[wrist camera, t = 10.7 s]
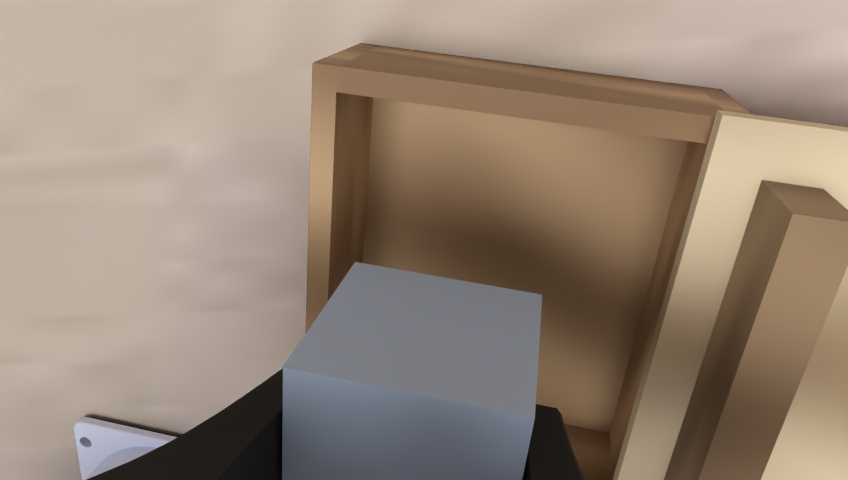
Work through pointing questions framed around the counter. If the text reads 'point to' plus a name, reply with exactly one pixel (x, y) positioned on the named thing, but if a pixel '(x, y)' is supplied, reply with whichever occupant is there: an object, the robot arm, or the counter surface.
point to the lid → (753, 315)
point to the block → (413, 381)
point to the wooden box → (515, 203)
